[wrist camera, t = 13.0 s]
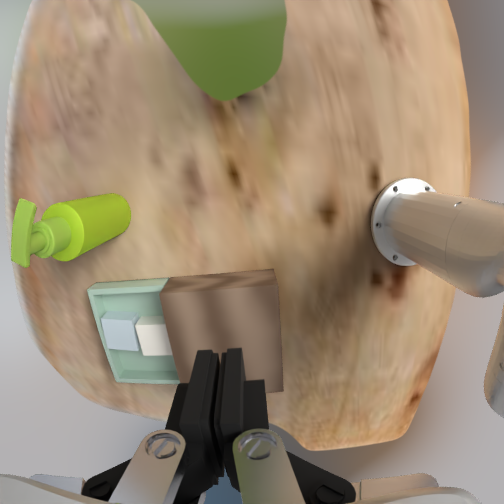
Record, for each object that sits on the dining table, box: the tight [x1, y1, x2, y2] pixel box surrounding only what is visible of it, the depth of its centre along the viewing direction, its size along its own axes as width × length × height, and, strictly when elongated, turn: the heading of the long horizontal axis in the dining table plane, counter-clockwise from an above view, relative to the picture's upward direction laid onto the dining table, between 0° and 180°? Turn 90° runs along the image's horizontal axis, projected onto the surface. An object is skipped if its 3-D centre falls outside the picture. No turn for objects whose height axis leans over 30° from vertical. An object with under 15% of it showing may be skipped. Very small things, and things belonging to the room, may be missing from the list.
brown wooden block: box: [159, 269, 284, 393], centre depth 39 cm, size 14×16×6 cm
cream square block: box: [135, 316, 173, 356], centre depth 40 cm, size 5×5×3 cm
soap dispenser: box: [11, 193, 131, 268], centre depth 28 cm, size 6×7×20 cm
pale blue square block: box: [101, 311, 141, 351], centre depth 40 cm, size 5×5×3 cm
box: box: [87, 278, 180, 384], centre depth 41 cm, size 12×16×3 cm
